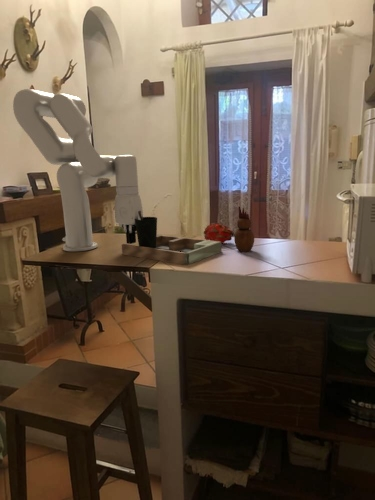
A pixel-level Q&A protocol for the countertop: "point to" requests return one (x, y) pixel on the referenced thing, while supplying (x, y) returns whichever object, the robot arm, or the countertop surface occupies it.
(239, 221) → the wooden figurine
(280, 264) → the countertop surface
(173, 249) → the open wooden tray box
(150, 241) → the cup
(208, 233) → the dragon fruit
